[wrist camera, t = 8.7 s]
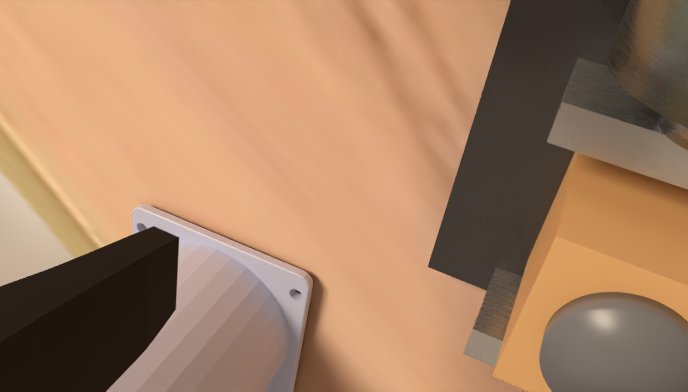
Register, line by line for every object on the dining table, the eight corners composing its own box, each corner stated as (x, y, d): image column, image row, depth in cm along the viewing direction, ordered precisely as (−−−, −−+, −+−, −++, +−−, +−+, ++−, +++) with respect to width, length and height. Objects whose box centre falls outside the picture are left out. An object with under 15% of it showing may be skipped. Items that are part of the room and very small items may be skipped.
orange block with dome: (677, 318, 19) (679, 480, 14) (527, 260, 20) (486, 394, 15) (758, 194, 16) (790, 343, 12) (581, 135, 17) (551, 252, 13)
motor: (749, 372, 20) (773, 561, 15) (436, 250, 22) (370, 378, 17) (1101, -79, 12) (1379, 6, 8) (575, -190, 15) (528, -181, 10)
